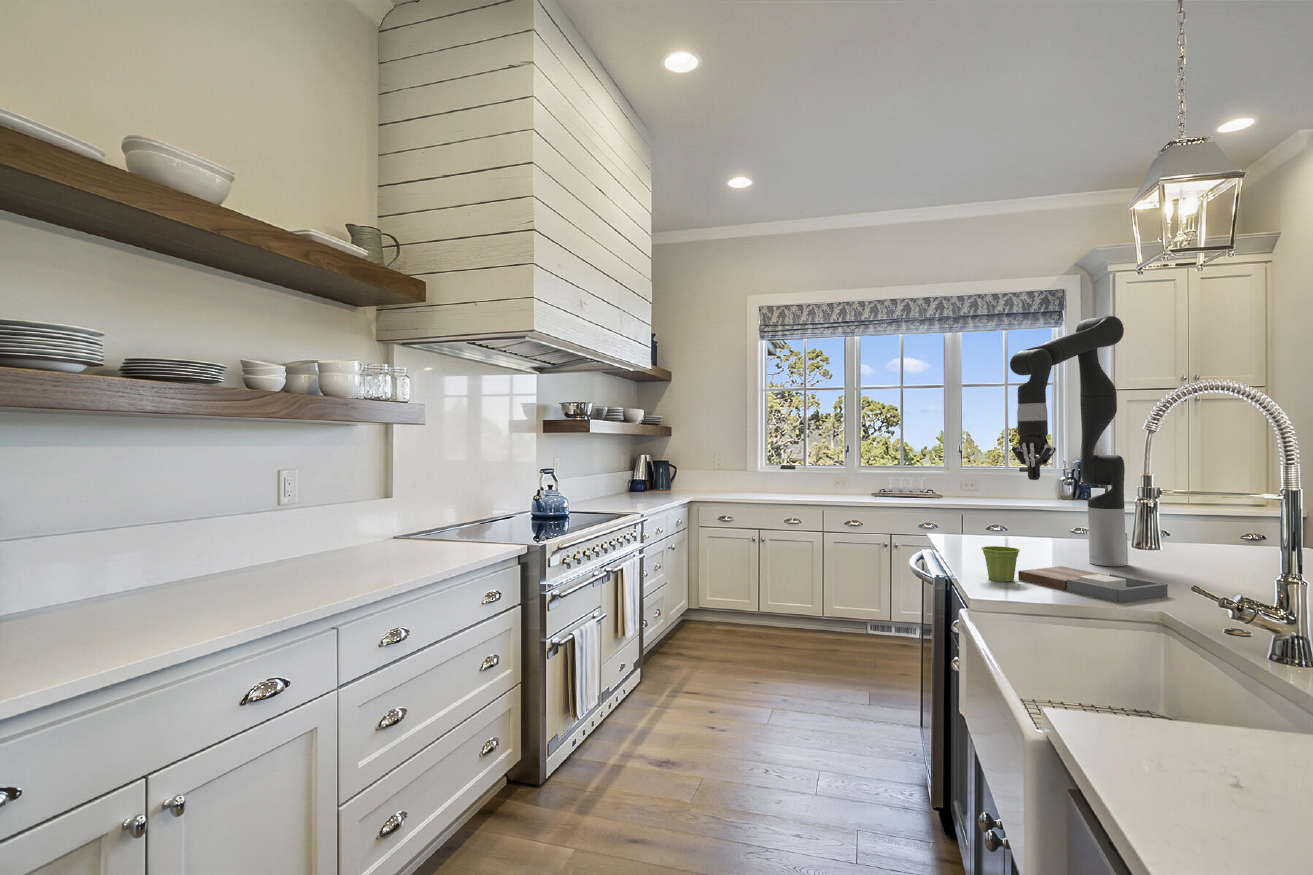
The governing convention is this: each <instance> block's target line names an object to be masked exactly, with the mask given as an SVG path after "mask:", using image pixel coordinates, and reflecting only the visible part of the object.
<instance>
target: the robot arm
mask: <svg viewBox="0 0 1313 875" xmlns="http://www.w3.org/2000/svg"><path fill="white" fill-rule="evenodd" d="M1122 322H1123V321H1122V320H1121V319H1120V318H1118V317H1117V316H1114V315H1104V316H1098V317H1093V318H1087V319H1084V320H1081V321H1080V322H1078V324H1077V326H1076V328H1075V332H1074V333H1071V334H1066V335H1064V336H1060V337H1057V338H1054V339H1051V340H1049V341H1047V342H1044V343H1042V344H1041V345H1038V346H1034V347H1029V348H1027V349H1023V350H1020V351H1018V352H1016V353H1015V354H1013V355H1012V357H1011V359H1010V361H1009V366H1010V370H1011V371H1012V373H1014V374H1015V375H1018V376H1029V379H1028V381H1026V382H1025V383H1022V384H1020V385H1018V387H1017V411H1016V415H1017V416H1016V417H1017V418H1016V419H1017V421H1016V422H1017V436H1018V437H1019V439H1018V441H1017V442H1018V444H1017V445H1016V446H1013V447H1011V451H1012V452H1013V455H1014V456H1016V459H1017V460H1018V461H1019V463H1020V464H1021V465H1024V466H1026V467H1027V477H1028V479H1029V480H1030V481H1038V480H1039V479H1040V477H1041V466H1044V465H1047V463H1048V462H1049V461H1050V459H1051V458H1052V456H1053V455H1054V453H1055V452H1056V451H1057V449H1056V447H1055V446H1051V445H1050V444H1049V441H1048V438H1047V437H1048V435H1049V432H1048V431H1049V428H1048V427H1049V424H1048V407H1047V390H1046V389H1047V385H1048V382H1049V378H1050V375H1051V371H1052V368H1053V366H1056V365H1058V364H1061V363H1064V362H1065V361H1067V360H1069V359H1071V358H1075V357H1076V356H1077V359H1078V366H1079V367H1078V368H1079V385H1080V386H1079V388H1080V391H1079V392H1080V394H1079V397H1080V400H1079V401H1080V420H1081V458H1080V460H1081V461H1080V475H1081V480H1082V482H1083V483H1084V484H1085V485H1087V486H1110V489H1109V490H1108V491H1106V492H1104V493H1102V494H1098V495H1095V496H1091V497H1089V498H1088V499H1087V524H1088V528H1087V529H1088V530H1087V531H1088V561H1089V562H1088V563H1089V564H1091V565H1096V566H1104V567H1126V566H1127V565H1129V555H1128V554H1129V553H1128V549H1129V548H1128V533H1127V532H1126V517H1125V516H1126V515H1125V472H1126V471H1125V461H1124V458H1123V457H1122V456H1121V455H1119V454H1117V455H1116V454H1094V453H1095V449H1096V445H1097V444H1098V441H1099V440H1100V437H1101V436H1102V435H1103V433H1104V431H1105V430H1106V429H1107V428H1108V426H1110V423H1112V421H1113V419H1114V417H1115V416H1116V414H1117V411H1118V402H1117V401H1118V400H1117V399H1118V397H1117V389H1116V387H1115V385H1114V383H1113V382H1112V380H1111V378H1110V377H1109V376H1108V374H1106V372H1105V371H1104V370H1103V368H1102V367H1101V364H1100V360H1099V355H1098V354H1099V353H1098V348H1105V347H1110V346H1115V345H1117V344H1118V343H1119V342H1120V341H1121V340H1122V338H1123V337H1124V333H1125V332H1124V329H1125V328H1124V324H1123V323H1122Z"/></svg>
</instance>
